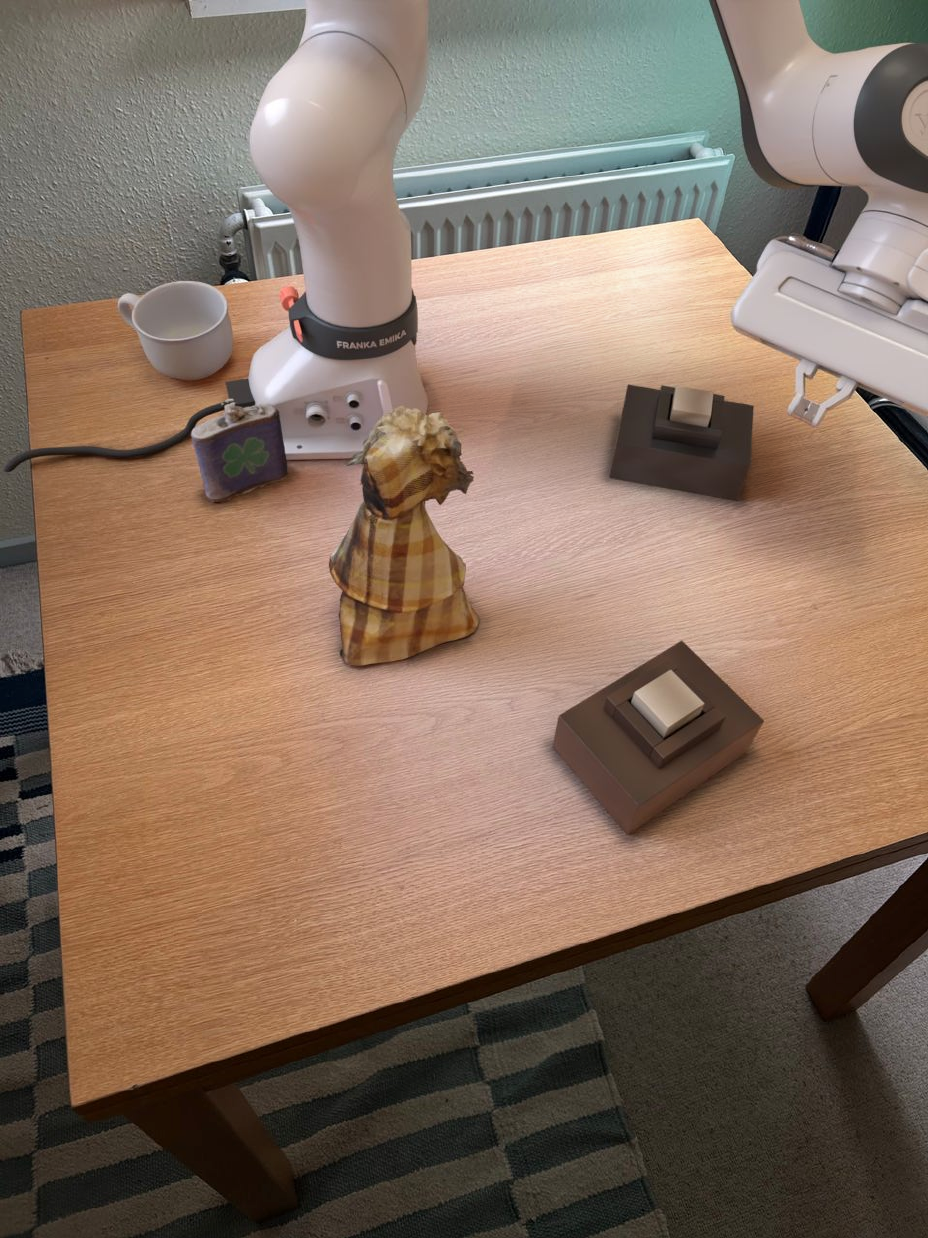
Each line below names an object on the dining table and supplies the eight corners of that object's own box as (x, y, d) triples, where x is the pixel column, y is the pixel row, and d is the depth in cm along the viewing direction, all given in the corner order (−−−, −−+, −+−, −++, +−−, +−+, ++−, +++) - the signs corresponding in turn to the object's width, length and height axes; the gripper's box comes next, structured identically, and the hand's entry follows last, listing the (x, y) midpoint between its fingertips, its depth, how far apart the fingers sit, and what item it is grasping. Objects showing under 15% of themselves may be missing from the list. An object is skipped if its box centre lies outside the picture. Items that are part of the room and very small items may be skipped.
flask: (211, 506, 96) (191, 427, 88) (201, 489, 98) (180, 409, 89) (292, 477, 99) (280, 398, 91) (281, 461, 101) (268, 381, 92)
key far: (669, 422, 97) (672, 408, 95) (672, 398, 99) (676, 385, 98) (707, 428, 96) (711, 415, 95) (709, 404, 99) (713, 391, 97)
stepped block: (608, 478, 101) (619, 428, 95) (620, 420, 107) (630, 370, 101) (737, 501, 99) (755, 452, 94) (741, 441, 105) (758, 392, 100)
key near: (663, 739, 73) (668, 727, 72) (630, 703, 75) (634, 692, 74) (699, 715, 75) (704, 703, 73) (666, 681, 77) (670, 669, 75)
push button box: (627, 835, 75) (642, 796, 69) (551, 746, 80) (560, 703, 74) (747, 751, 80) (771, 709, 75) (669, 673, 85) (686, 627, 80)
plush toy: (304, 560, 91) (299, 395, 69) (433, 528, 94) (468, 361, 72) (347, 685, 86) (356, 551, 63) (482, 646, 89) (535, 506, 67)
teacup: (257, 358, 112) (247, 300, 105) (196, 405, 106) (181, 347, 100) (172, 319, 116) (157, 261, 110) (109, 363, 110) (89, 304, 104)
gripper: (772, 213, 78) (691, 365, 81) (1012, 307, 71) (911, 468, 75) (780, 236, 84) (704, 377, 87) (1003, 326, 77) (909, 475, 80)
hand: (801, 420), depth 81 cm, fingers closed
